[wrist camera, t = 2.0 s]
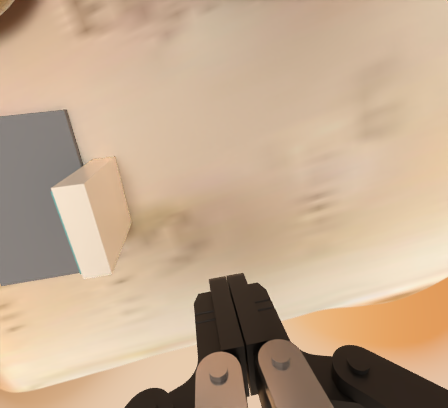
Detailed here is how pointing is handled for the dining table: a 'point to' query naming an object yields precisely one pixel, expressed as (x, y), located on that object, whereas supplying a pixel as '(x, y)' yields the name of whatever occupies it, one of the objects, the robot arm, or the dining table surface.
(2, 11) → the plant saucer
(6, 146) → the mat
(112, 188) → the tile
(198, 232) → the dining table surface
